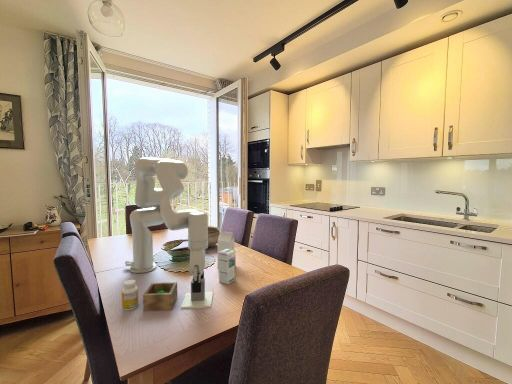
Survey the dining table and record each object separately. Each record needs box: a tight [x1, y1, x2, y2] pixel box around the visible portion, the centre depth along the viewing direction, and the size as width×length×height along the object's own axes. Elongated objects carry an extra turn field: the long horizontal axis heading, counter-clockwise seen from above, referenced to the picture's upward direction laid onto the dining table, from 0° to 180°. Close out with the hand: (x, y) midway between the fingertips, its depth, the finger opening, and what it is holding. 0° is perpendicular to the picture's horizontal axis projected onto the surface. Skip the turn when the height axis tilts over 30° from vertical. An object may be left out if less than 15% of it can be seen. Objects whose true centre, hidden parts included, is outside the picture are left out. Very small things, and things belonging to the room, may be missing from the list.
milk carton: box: [217, 231, 235, 269], centre depth 132 cm, size 7×7×19 cm
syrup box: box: [218, 249, 237, 285], centre depth 115 cm, size 6×6×14 cm
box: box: [142, 281, 178, 312], centre depth 95 cm, size 10×10×6 cm
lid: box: [180, 278, 214, 310], centre depth 97 cm, size 11×11×8 cm
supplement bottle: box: [121, 279, 139, 311], centre depth 92 cm, size 5×5×10 cm
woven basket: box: [207, 225, 221, 249], centre depth 168 cm, size 25×19×12 cm
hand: (198, 286), depth 97 cm, fingers open, 9 cm apart
